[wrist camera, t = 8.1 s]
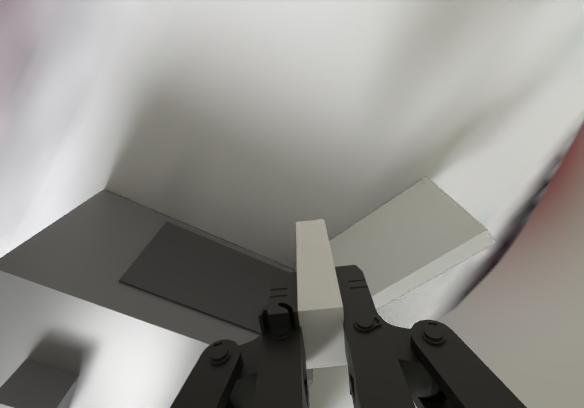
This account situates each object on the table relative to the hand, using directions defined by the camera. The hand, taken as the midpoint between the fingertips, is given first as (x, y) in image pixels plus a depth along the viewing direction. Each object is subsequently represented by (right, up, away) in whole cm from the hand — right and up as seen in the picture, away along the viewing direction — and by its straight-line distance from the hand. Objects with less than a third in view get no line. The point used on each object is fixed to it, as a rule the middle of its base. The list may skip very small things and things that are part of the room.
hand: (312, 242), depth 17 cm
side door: (+4, 0, +8) cm, 9 cm away
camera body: (-11, -5, +11) cm, 16 cm away
